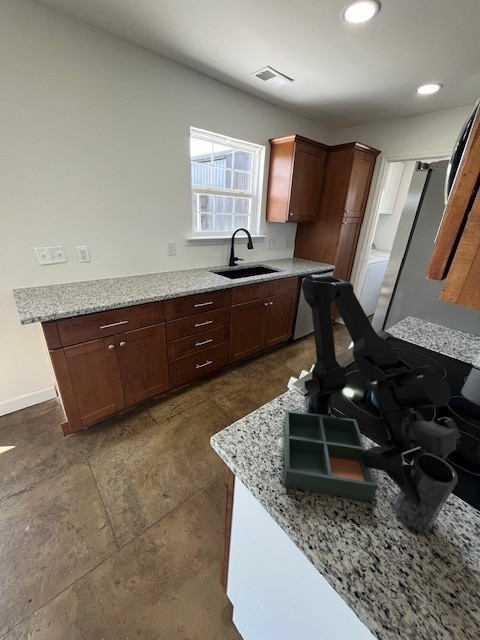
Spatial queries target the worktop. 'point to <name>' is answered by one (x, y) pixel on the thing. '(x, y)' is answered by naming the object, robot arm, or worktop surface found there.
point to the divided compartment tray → (326, 456)
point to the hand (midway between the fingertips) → (430, 498)
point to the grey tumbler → (426, 491)
